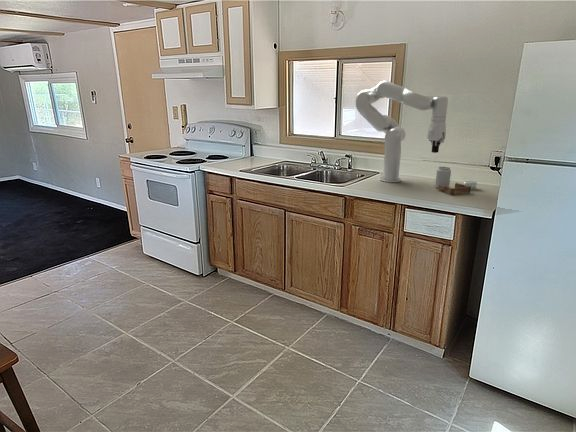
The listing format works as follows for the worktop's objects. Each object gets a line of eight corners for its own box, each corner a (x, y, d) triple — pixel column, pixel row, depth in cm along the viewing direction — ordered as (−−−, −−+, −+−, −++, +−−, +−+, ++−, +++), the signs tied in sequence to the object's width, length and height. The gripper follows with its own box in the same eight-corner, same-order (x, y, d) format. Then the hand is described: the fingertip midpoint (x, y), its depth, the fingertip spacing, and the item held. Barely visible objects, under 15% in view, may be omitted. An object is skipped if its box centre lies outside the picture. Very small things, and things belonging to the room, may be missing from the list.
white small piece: (459, 188, 223) (460, 181, 222) (469, 187, 225) (470, 180, 224) (468, 191, 217) (470, 183, 216) (478, 189, 219) (479, 182, 218)
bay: (438, 190, 217) (439, 184, 216) (456, 188, 221) (457, 182, 220) (451, 195, 208) (452, 189, 207) (469, 193, 212) (470, 186, 211)
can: (438, 185, 228) (440, 165, 224) (451, 188, 223) (453, 167, 219) (432, 188, 223) (434, 167, 219) (445, 190, 218) (447, 169, 214)
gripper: (424, 118, 225) (420, 150, 231) (442, 120, 211) (438, 154, 217) (434, 118, 227) (431, 150, 233) (453, 120, 214) (449, 153, 220)
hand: (434, 152), depth 225 cm, fingers closed
